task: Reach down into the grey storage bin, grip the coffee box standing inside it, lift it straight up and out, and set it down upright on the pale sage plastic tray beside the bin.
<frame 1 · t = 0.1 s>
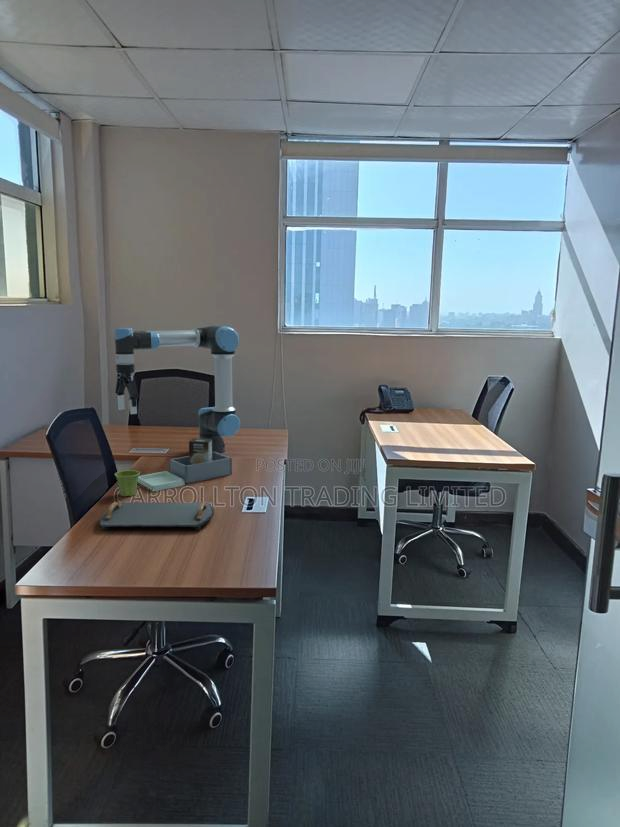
hand: (127, 411, 251), 28 cm above the table, tool pointing down, fingers open, 13 cm apart
serving board: (158, 521, 199), on the table
coffee box: (201, 475, 254), resting in grey storage bin
plant pot: (128, 494, 226), on the table
tray: (160, 483, 240), on the table
grey storage bin: (201, 474, 254), on the table
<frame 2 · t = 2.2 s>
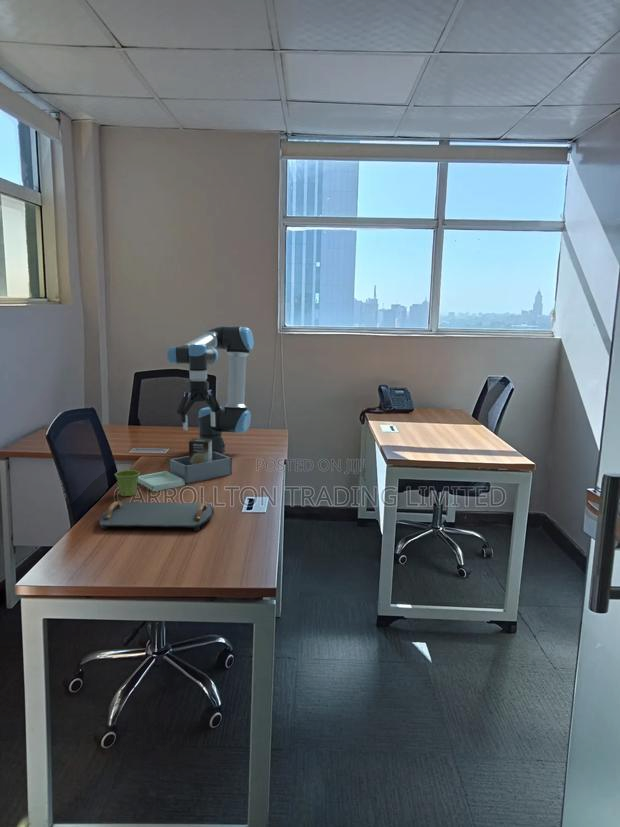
hand: (199, 428, 250), 21 cm above the table, tool pointing down, fingers open, 13 cm apart
nothing on the table moved.
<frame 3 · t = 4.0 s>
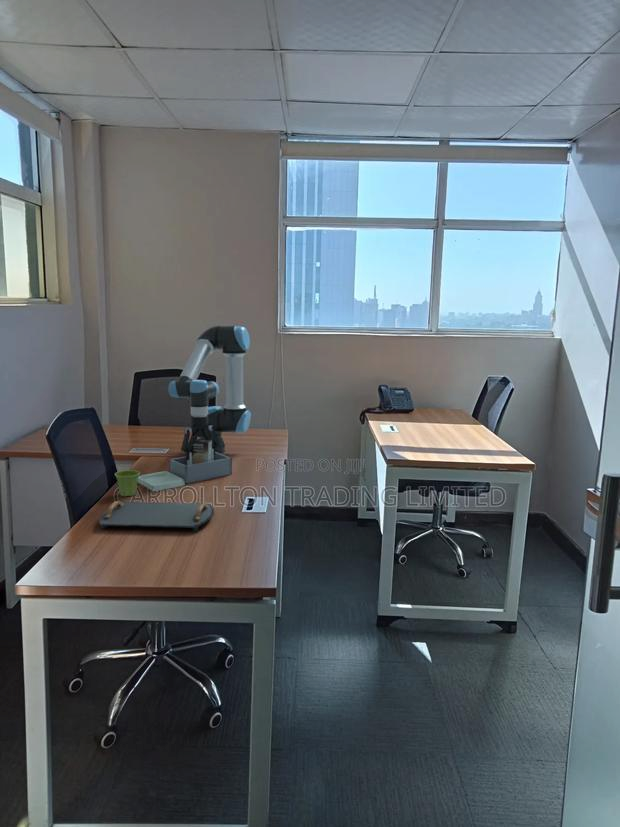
hand: (200, 464, 253), 5 cm above the table, tool pointing down, fingers closed on coffee box, 10 cm apart
coffee box: (200, 475, 254), resting in grey storage bin, touching gripper
everything else where it was.
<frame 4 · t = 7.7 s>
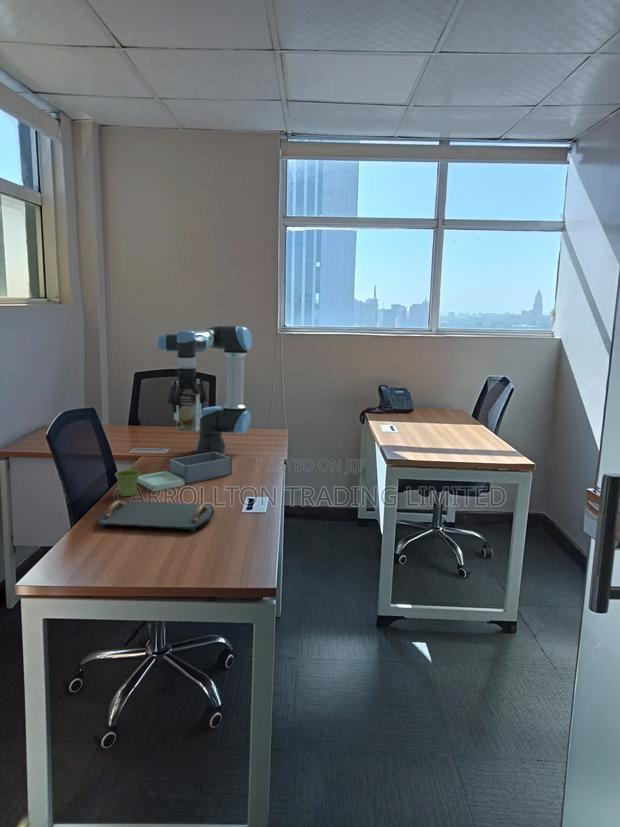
hand: (188, 418, 245), 26 cm above the table, tool pointing down, fingers closed on coffee box, 10 cm apart
coffee box: (188, 430, 246), point 21 cm above the table, touching gripper
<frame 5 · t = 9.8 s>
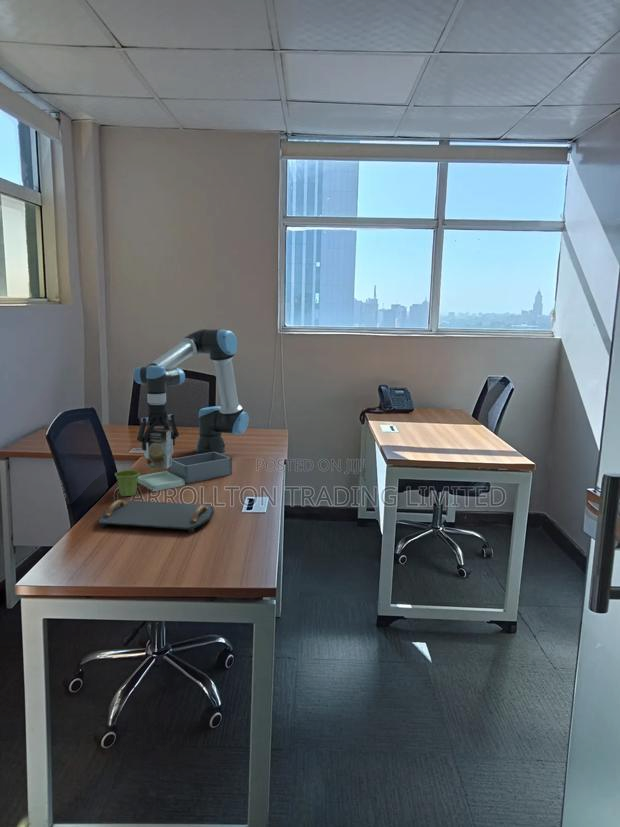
hand: (159, 455, 238), 12 cm above the table, tool pointing down, fingers closed on coffee box, 10 cm apart
coffee box: (159, 467, 239), point 7 cm above the table, touching gripper
when the fingers open (7 cm above the table, at t = 11.5 s): coffee box drops 1 cm, resting on tray.
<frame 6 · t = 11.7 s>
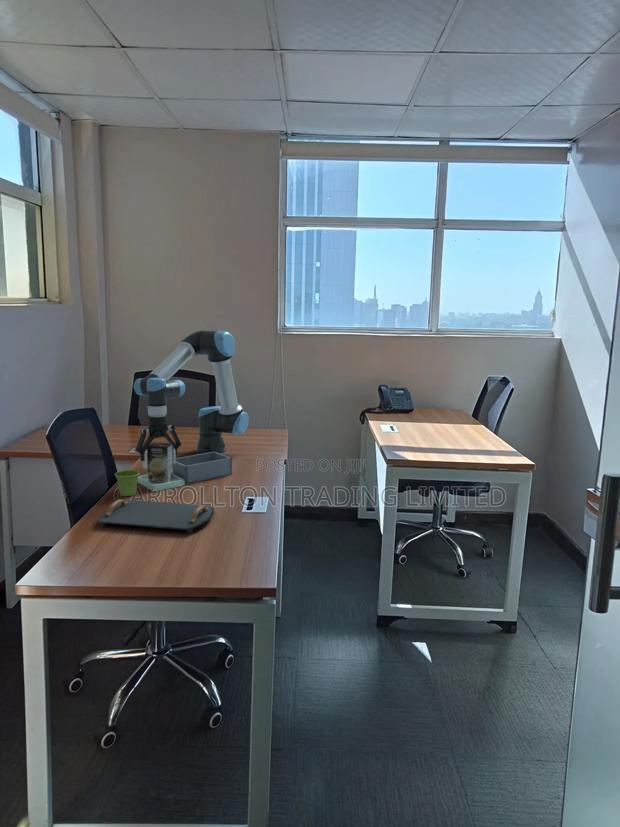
hand: (159, 465, 239), 8 cm above the table, tool pointing down, fingers open, 12 cm apart
coffee box: (160, 481, 240), point 1 cm above the table, touching tray
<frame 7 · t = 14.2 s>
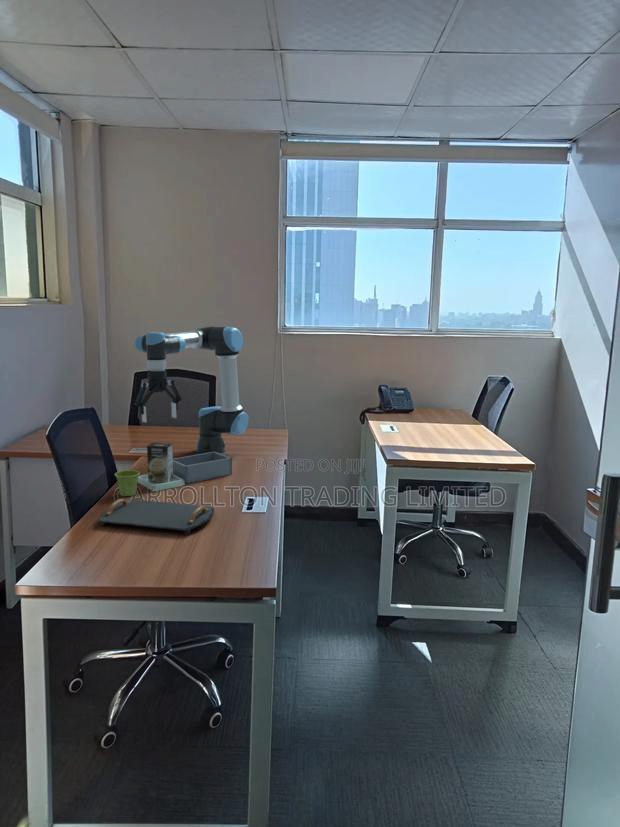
hand: (159, 419, 240), 27 cm above the table, tool pointing down, fingers open, 13 cm apart
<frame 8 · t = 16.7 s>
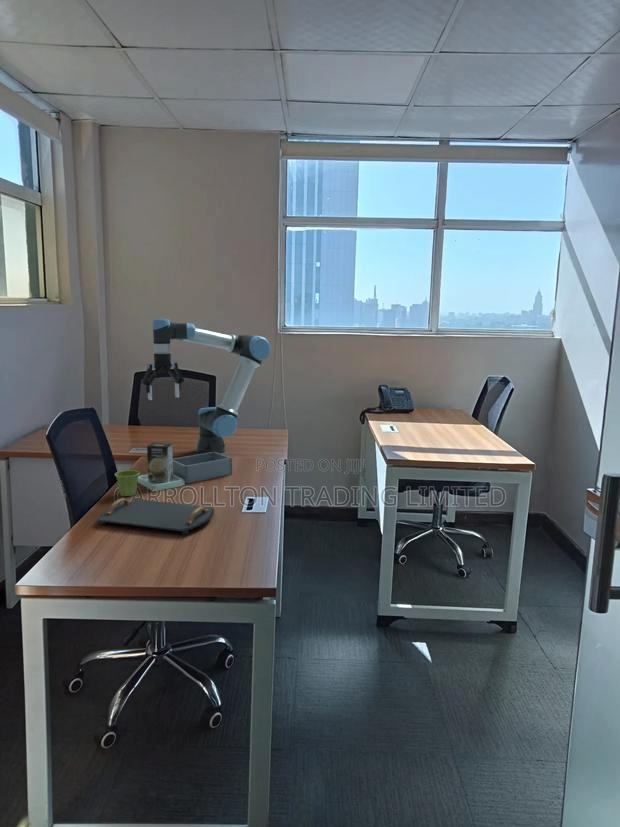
hand: (163, 398, 265), 32 cm above the table, tool pointing down, fingers open, 13 cm apart
at the end: coffee box inside the target area on the tray (0.3 cm from its centre), point 0.8 cm above the tray's base; coffee box tilted 0°; the gripper is holding nothing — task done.
